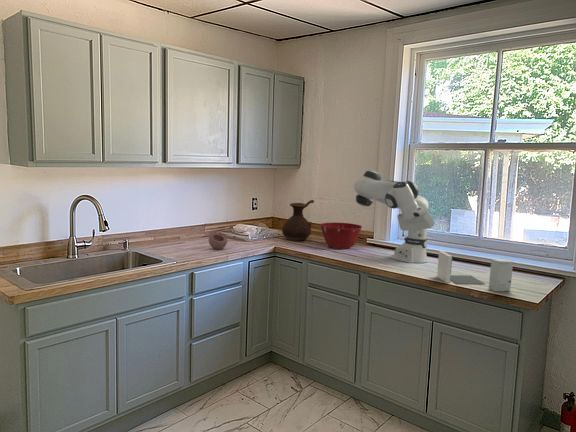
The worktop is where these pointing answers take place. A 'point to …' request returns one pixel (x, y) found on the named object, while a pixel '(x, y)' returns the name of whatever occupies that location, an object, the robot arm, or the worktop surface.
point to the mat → (465, 279)
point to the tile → (444, 266)
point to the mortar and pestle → (217, 240)
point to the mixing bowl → (340, 234)
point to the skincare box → (500, 274)
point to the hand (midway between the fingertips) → (421, 236)
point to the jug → (297, 223)
